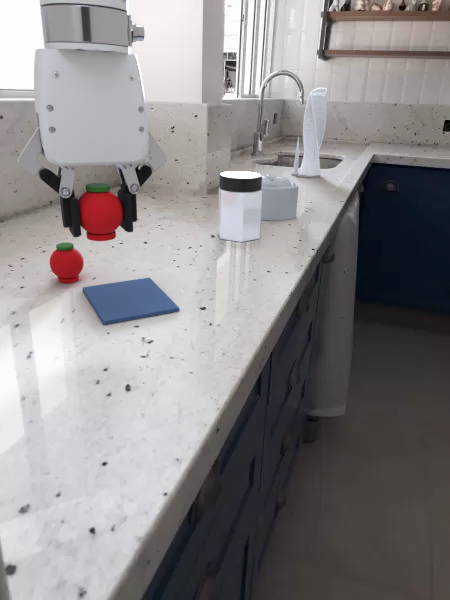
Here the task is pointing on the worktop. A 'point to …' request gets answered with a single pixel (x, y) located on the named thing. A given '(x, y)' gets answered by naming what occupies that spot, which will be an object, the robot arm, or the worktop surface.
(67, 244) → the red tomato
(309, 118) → the skyscraper
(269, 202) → the lumpy-topped squat cylinder
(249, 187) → the jar
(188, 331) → the worktop surface
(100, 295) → the cloth
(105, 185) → the red round lidded pot
